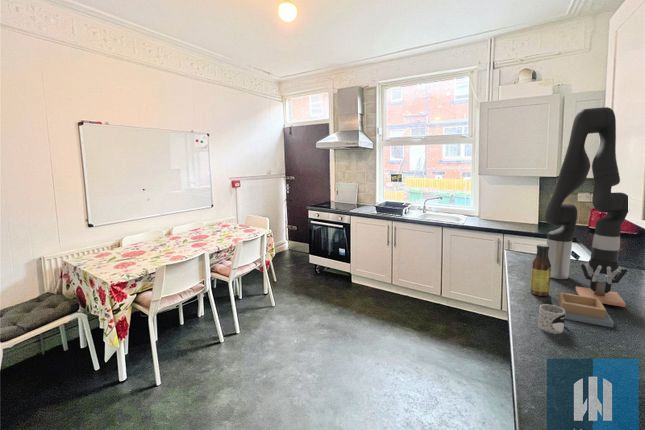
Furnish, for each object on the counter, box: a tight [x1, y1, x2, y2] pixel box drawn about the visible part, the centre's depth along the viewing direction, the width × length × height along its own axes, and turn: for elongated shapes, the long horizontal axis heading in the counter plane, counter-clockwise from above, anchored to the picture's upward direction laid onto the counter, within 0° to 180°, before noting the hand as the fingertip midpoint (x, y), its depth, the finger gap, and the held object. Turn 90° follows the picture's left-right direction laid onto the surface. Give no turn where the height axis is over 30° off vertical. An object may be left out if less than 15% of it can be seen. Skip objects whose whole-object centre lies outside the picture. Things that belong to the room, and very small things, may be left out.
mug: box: [537, 303, 566, 335], centre depth 104 cm, size 10×7×7 cm, turn 117°
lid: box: [575, 279, 627, 308], centre depth 122 cm, size 12×12×6 cm
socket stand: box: [550, 291, 615, 328], centre depth 113 cm, size 15×15×4 cm
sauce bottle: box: [530, 243, 551, 297], centre depth 128 cm, size 7×6×20 cm
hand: (599, 291), depth 122 cm, fingers closed on lid, 3 cm apart
